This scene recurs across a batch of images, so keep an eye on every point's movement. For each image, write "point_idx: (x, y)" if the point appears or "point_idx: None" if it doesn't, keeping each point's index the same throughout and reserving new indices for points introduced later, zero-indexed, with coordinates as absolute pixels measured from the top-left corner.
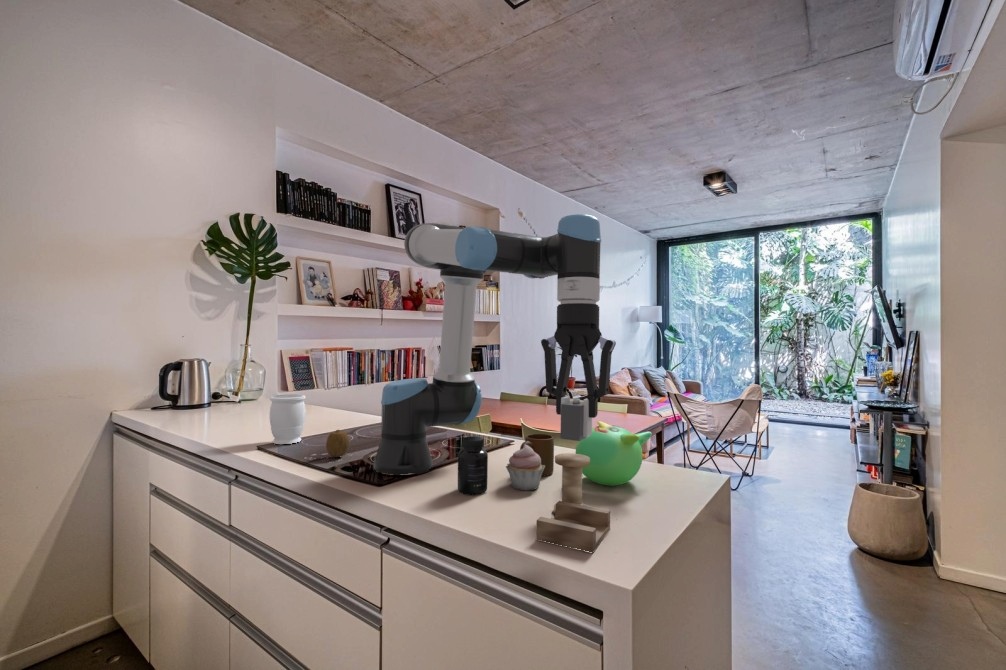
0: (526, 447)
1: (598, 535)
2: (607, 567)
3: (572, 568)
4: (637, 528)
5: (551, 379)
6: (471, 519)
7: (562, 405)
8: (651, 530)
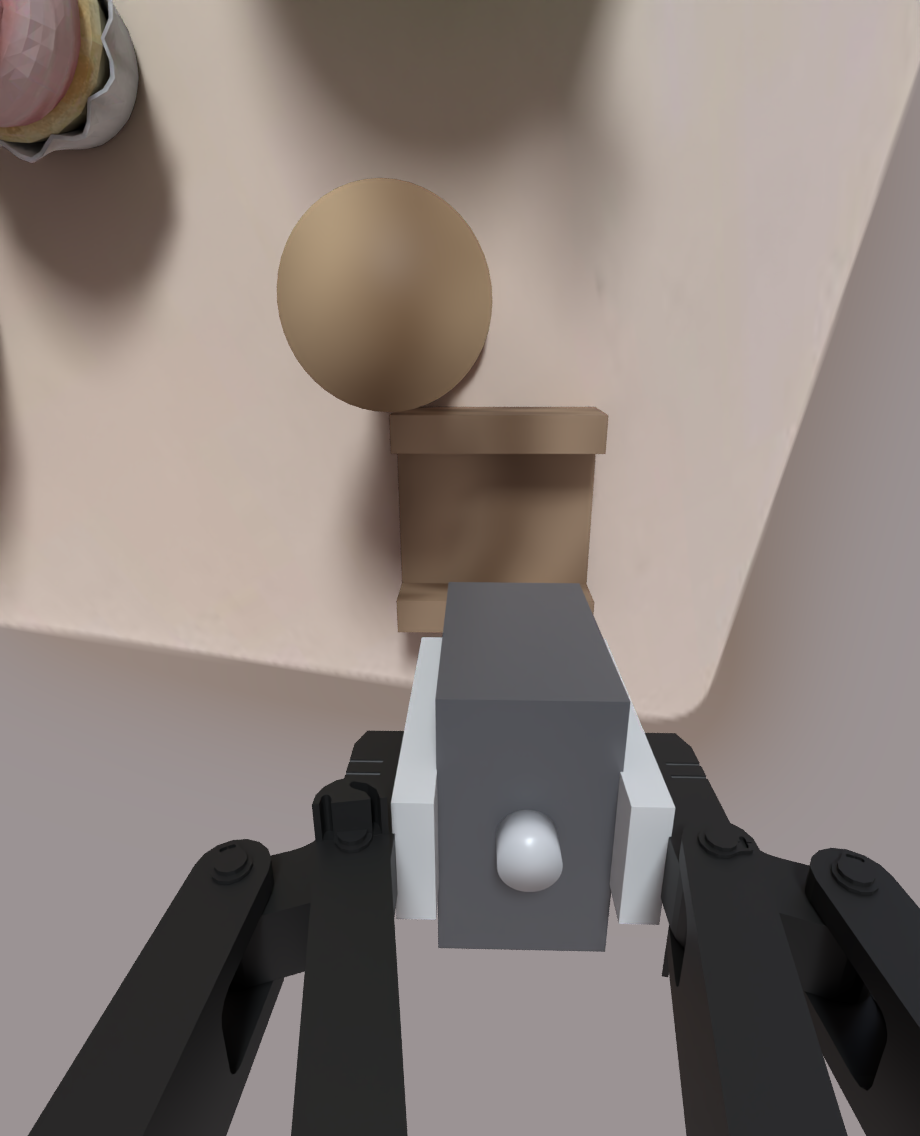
0: None
1: (581, 527)
2: (634, 658)
3: None
4: (688, 342)
5: (234, 1099)
6: (146, 565)
7: (450, 940)
8: (739, 333)
